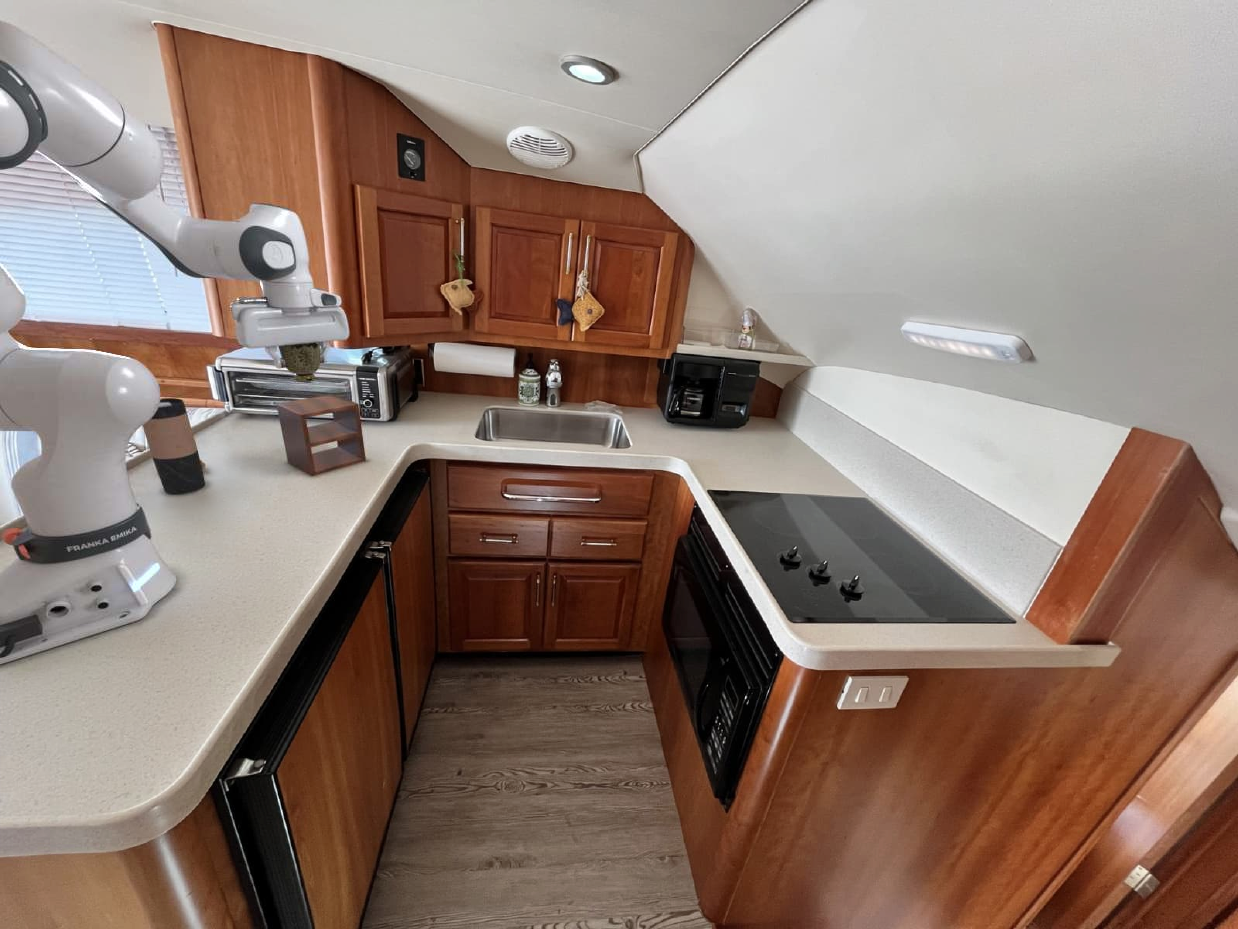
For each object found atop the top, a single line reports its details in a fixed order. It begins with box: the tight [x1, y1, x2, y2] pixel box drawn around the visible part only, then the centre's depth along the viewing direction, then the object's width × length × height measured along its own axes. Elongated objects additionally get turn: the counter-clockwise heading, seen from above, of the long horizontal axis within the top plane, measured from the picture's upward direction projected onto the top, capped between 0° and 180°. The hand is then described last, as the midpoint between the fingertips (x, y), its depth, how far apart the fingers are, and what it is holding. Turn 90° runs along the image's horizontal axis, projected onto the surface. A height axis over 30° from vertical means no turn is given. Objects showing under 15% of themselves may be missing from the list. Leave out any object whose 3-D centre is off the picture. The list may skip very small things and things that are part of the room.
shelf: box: [275, 394, 367, 477], centre depth 126 cm, size 14×12×16 cm
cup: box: [277, 342, 321, 383], centre depth 103 cm, size 8×7×8 cm
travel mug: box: [141, 397, 206, 496], centre depth 107 cm, size 8×8×20 cm
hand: (302, 365), depth 103 cm, fingers closed on cup, 6 cm apart
